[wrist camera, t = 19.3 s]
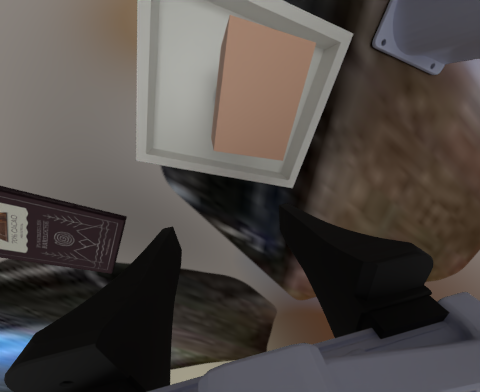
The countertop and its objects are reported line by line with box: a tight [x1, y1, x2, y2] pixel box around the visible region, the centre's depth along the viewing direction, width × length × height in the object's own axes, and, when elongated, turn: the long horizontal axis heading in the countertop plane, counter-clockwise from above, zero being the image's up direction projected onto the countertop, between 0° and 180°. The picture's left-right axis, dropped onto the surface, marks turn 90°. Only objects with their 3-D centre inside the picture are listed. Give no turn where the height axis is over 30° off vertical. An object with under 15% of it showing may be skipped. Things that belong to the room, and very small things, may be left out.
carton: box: [211, 15, 316, 161], centre depth 11 cm, size 4×6×4 cm
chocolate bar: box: [0, 186, 127, 273], centre depth 20 cm, size 9×1×18 cm
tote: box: [136, 0, 353, 188], centre depth 17 cm, size 16×14×3 cm
